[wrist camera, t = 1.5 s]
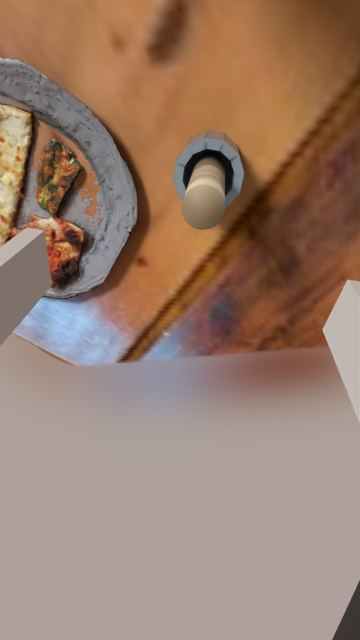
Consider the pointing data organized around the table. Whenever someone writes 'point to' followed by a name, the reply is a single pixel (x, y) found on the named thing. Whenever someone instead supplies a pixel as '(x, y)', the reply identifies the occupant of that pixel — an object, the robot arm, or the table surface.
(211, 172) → the pestle
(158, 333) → the table surface
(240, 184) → the cup
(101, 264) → the food plate
